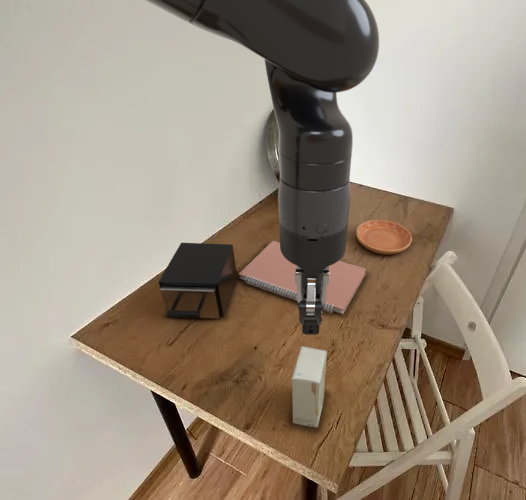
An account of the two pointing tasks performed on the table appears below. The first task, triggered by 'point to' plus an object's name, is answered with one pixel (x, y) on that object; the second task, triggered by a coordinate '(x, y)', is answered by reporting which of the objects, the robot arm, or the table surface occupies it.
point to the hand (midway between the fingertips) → (311, 323)
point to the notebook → (283, 278)
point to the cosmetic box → (308, 386)
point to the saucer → (383, 236)
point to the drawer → (190, 301)
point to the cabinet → (203, 269)
